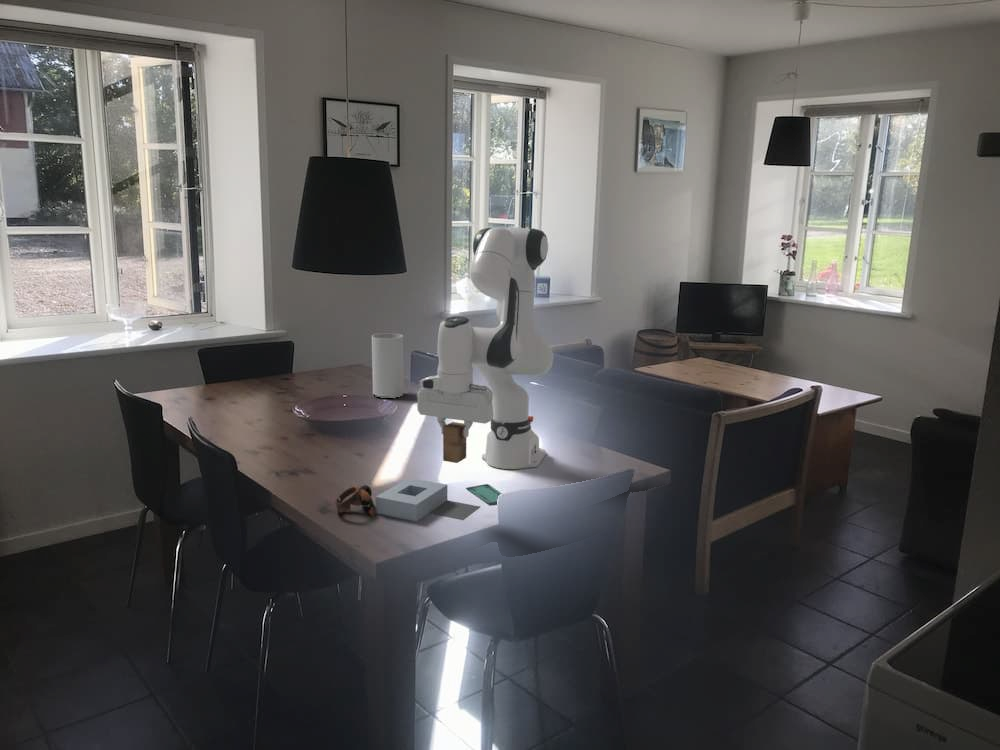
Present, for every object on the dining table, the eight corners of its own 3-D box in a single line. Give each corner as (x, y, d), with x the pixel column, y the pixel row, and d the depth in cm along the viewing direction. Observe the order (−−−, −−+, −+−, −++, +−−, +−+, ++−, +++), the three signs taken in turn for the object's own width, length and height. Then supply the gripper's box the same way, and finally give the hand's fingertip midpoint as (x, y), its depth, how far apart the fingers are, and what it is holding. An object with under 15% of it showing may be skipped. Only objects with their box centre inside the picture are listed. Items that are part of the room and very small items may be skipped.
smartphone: (490, 505, 209) (465, 487, 222) (490, 510, 210) (465, 491, 222) (514, 500, 213) (488, 483, 226) (514, 505, 213) (488, 487, 226)
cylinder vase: (370, 399, 322) (368, 338, 317) (376, 391, 334) (374, 333, 329) (401, 399, 322) (400, 338, 317) (405, 392, 334) (404, 333, 329)
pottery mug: (372, 524, 199) (354, 499, 197) (343, 535, 203) (325, 510, 200) (387, 496, 210) (371, 472, 207) (359, 507, 213) (342, 483, 211)
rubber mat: (447, 502, 213) (447, 500, 213) (480, 508, 209) (480, 506, 209) (428, 515, 204) (428, 513, 204) (463, 522, 200) (463, 520, 200)
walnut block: (452, 455, 207) (452, 421, 205) (466, 457, 205) (466, 423, 203) (443, 460, 202) (443, 426, 200) (457, 463, 200) (457, 428, 199)
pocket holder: (409, 495, 218) (408, 477, 217) (447, 502, 213) (447, 484, 212) (376, 515, 204) (375, 496, 203) (416, 523, 199) (416, 504, 198)
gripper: (498, 384, 198) (497, 437, 201) (426, 375, 206) (426, 427, 209) (486, 389, 192) (486, 444, 195) (413, 380, 201) (414, 433, 204)
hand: (454, 435), depth 202 cm, fingers closed on walnut block, 4 cm apart
